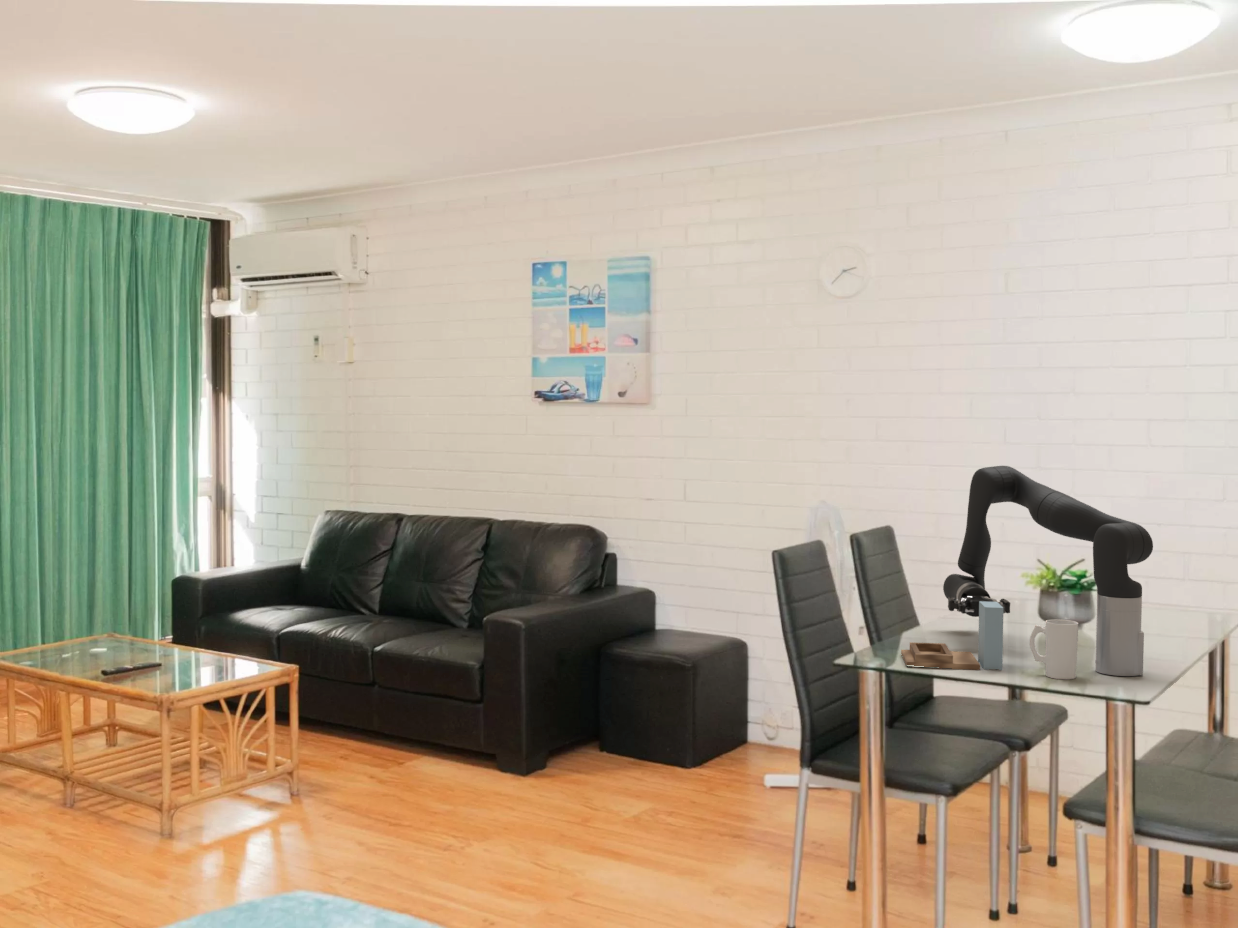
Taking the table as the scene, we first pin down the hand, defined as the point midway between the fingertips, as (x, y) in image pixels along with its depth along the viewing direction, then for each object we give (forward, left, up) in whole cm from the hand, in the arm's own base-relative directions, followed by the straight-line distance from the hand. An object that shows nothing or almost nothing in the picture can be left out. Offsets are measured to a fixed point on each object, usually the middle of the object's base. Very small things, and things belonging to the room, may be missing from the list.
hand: (982, 609), depth 289 cm
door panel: (0, +11, -11) cm, 16 cm away
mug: (-12, +20, -11) cm, 26 cm away
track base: (+11, +9, -11) cm, 18 cm away
